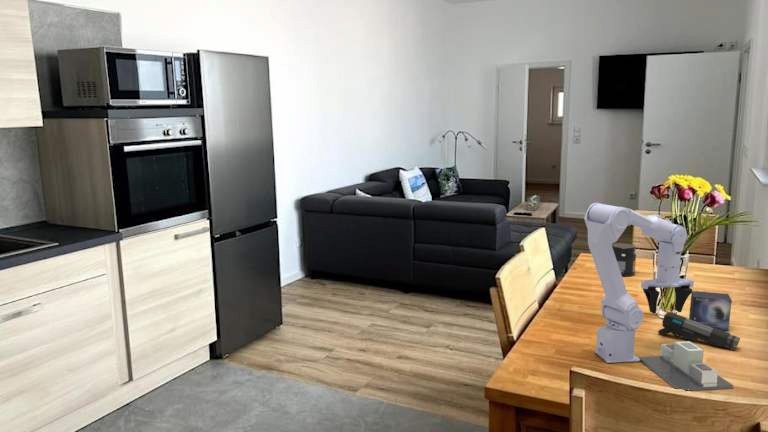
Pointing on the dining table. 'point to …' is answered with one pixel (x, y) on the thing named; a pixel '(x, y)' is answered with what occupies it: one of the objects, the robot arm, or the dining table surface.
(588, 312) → the dining table surface
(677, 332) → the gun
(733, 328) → the dining table surface
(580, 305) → the dining table surface
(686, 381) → the panel
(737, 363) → the dining table surface
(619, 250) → the supplement container
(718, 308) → the small box
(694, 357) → the block
